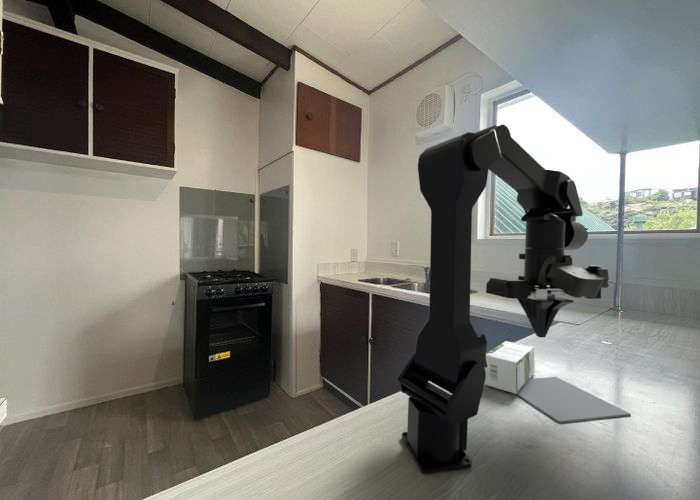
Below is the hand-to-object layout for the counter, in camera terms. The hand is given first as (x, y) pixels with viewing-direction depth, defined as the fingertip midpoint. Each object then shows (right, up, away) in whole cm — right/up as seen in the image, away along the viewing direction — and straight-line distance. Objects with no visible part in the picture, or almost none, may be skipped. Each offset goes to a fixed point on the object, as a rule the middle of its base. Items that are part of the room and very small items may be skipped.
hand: (540, 336), depth 49 cm
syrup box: (-6, -8, +2) cm, 10 cm away
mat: (+4, -11, +1) cm, 12 cm away
